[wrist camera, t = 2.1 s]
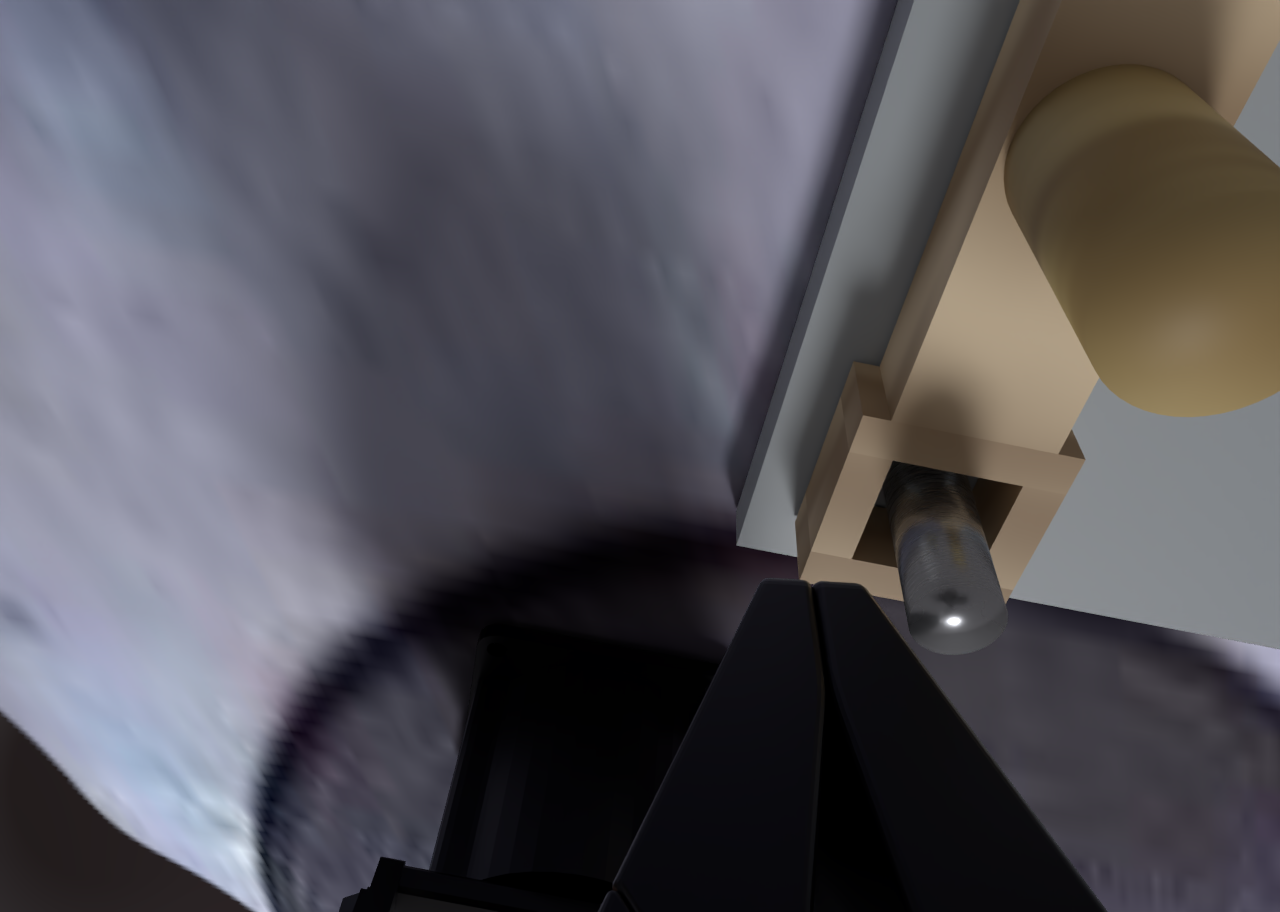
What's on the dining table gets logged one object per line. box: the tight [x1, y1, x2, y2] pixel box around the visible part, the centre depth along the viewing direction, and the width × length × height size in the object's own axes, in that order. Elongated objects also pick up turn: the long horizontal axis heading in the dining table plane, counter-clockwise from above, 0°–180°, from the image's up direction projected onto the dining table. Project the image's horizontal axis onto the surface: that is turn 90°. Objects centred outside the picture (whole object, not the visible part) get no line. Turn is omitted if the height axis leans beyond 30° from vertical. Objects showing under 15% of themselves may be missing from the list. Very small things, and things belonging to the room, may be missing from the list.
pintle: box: [882, 461, 1008, 655], centre depth 19 cm, size 2×2×4 cm
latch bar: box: [795, 0, 1280, 604], centre depth 15 cm, size 14×4×6 cm, turn 169°
